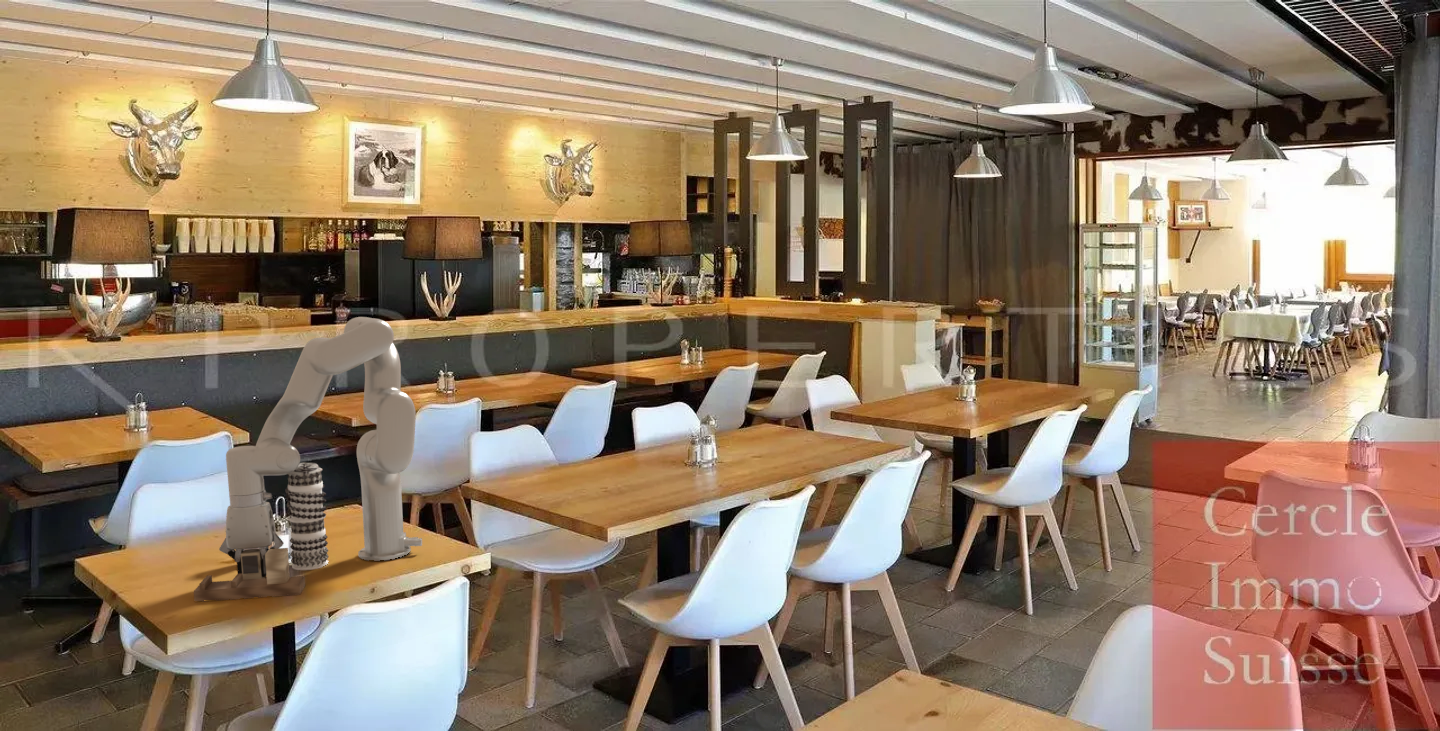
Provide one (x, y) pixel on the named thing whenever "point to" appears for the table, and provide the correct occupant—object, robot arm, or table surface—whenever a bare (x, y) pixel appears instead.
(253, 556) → the beige boxy piece
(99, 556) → the table surface
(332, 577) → the table surface
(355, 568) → the table surface
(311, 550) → the decorative candle
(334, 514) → the table surface
